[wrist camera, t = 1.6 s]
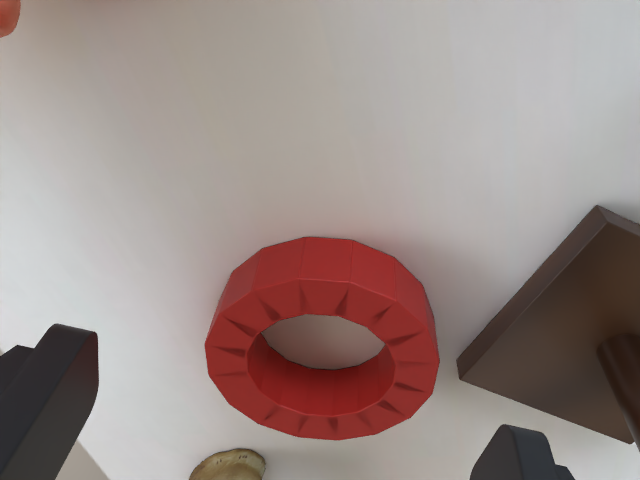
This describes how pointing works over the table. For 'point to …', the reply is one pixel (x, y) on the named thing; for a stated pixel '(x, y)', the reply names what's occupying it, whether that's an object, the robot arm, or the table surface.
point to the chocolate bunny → (231, 466)
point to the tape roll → (333, 300)
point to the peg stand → (572, 333)
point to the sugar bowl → (9, 16)
